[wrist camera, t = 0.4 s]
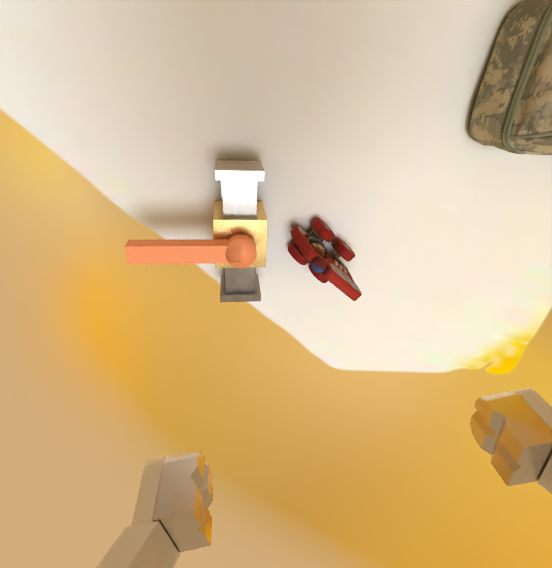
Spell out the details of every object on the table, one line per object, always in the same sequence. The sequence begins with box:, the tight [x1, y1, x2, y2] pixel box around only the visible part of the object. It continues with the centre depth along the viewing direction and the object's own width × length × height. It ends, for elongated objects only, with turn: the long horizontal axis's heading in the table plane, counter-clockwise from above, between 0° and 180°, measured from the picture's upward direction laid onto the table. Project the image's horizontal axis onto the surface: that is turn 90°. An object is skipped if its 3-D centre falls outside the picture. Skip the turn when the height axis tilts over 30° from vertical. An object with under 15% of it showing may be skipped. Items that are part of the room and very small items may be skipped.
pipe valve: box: [213, 160, 267, 302], centre depth 49 cm, size 19×7×9 cm, turn 177°
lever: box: [125, 234, 257, 268], centre depth 44 cm, size 16×4×2 cm, turn 87°
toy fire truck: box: [288, 218, 361, 301], centre depth 52 cm, size 7×12×10 cm, turn 46°
